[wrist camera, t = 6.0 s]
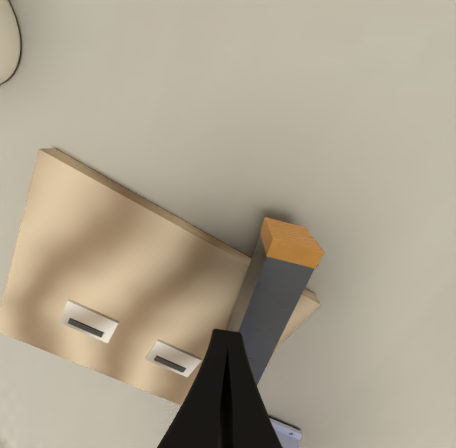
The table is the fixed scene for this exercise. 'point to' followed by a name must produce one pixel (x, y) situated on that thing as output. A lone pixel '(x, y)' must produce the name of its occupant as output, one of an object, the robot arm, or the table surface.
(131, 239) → the label board
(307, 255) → the swing bar
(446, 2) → the table surface
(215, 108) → the table surface
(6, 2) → the beer glass
